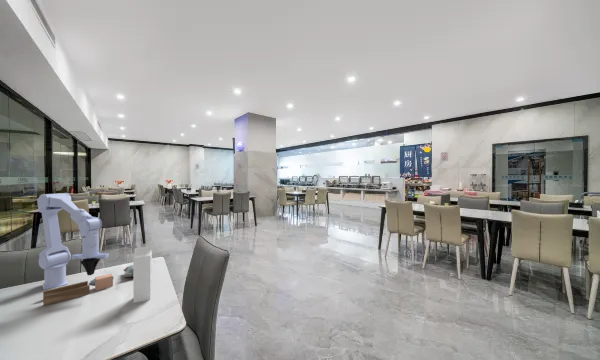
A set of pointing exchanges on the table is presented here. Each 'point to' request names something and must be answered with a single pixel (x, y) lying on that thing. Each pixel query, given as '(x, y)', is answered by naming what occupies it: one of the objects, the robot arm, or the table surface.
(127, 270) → the packaged food
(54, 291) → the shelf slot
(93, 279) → the coaster
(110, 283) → the block
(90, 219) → the robot arm
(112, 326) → the table surface
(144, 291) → the milk
